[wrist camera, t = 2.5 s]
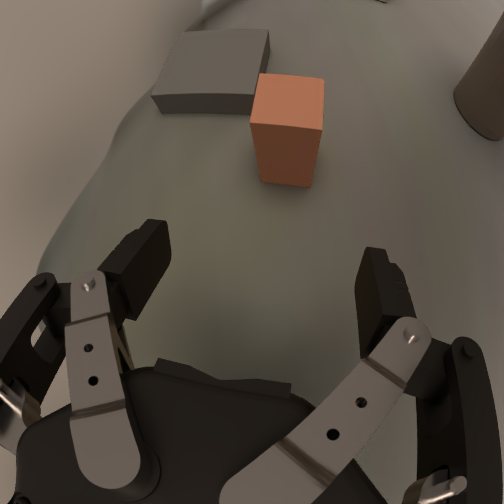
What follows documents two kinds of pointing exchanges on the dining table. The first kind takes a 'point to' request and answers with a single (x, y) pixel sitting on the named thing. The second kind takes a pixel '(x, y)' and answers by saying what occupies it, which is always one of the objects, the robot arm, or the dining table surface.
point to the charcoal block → (213, 72)
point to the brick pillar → (287, 127)
